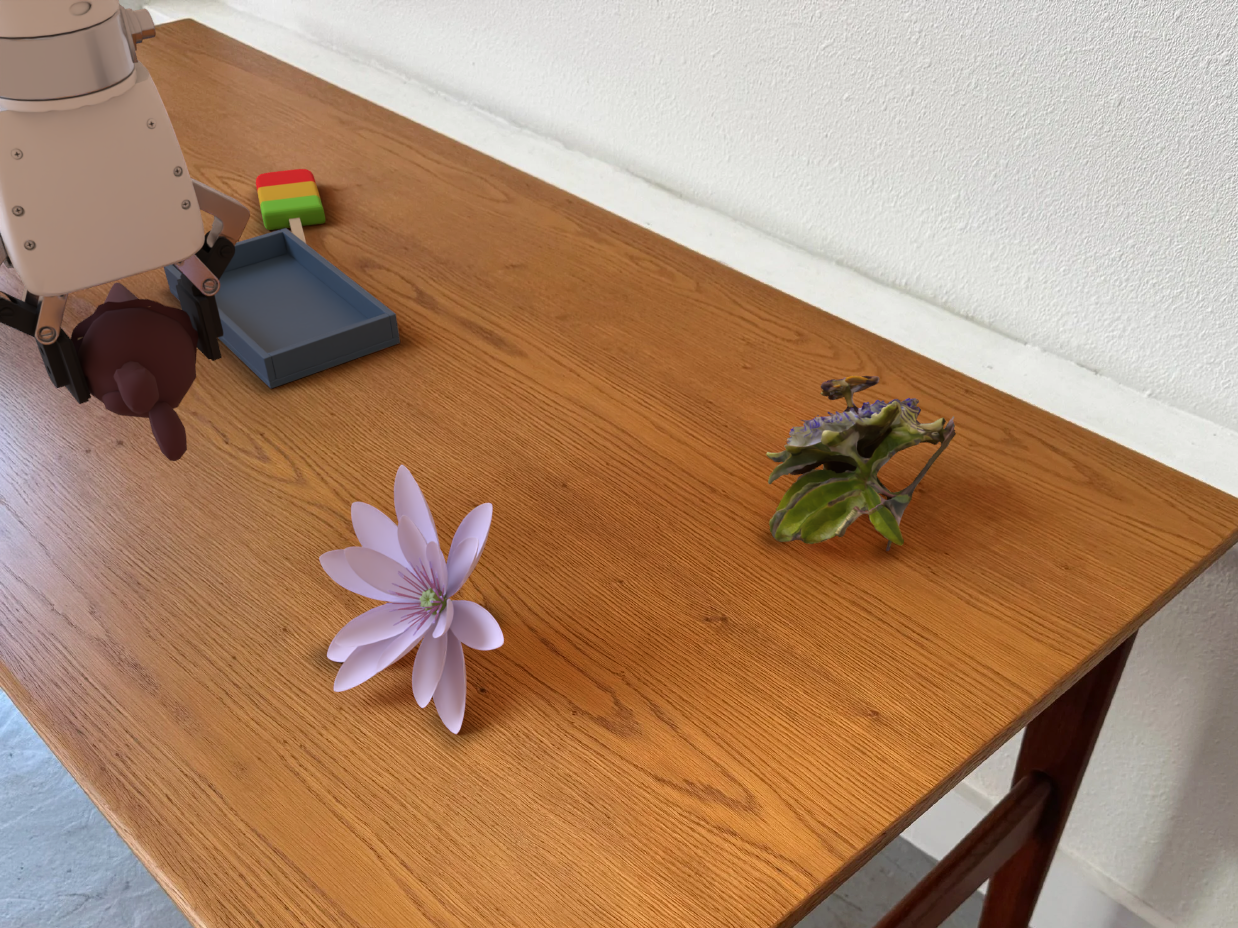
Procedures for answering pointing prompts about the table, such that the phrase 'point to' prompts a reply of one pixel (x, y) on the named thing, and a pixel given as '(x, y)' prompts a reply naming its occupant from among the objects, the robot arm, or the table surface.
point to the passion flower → (850, 465)
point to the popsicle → (289, 200)
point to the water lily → (412, 599)
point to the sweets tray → (294, 310)
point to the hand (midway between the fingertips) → (142, 368)
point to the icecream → (140, 362)
